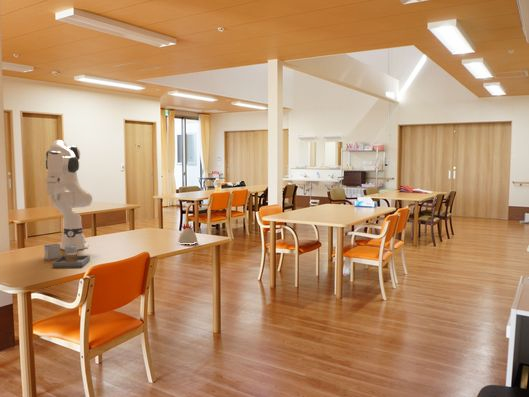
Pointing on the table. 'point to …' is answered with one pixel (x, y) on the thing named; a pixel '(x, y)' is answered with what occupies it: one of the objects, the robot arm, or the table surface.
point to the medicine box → (52, 251)
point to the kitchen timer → (187, 235)
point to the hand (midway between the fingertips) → (56, 201)
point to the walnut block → (71, 257)
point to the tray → (62, 262)
